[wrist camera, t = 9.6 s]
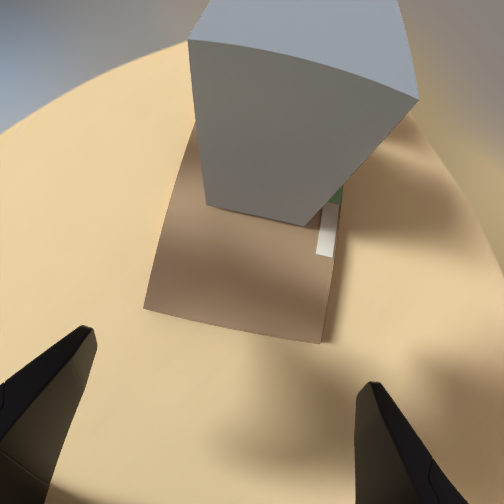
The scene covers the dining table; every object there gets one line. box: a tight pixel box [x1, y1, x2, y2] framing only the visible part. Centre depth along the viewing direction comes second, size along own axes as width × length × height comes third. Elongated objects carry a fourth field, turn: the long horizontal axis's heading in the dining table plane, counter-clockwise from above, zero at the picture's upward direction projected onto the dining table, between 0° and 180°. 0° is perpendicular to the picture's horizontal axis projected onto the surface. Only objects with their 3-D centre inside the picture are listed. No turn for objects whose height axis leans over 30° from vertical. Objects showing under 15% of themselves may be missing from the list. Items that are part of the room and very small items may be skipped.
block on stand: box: [143, 121, 343, 344], centre depth 14 cm, size 16×9×7 cm, turn 169°
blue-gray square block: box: [188, 0, 419, 226], centre depth 11 cm, size 6×6×10 cm
